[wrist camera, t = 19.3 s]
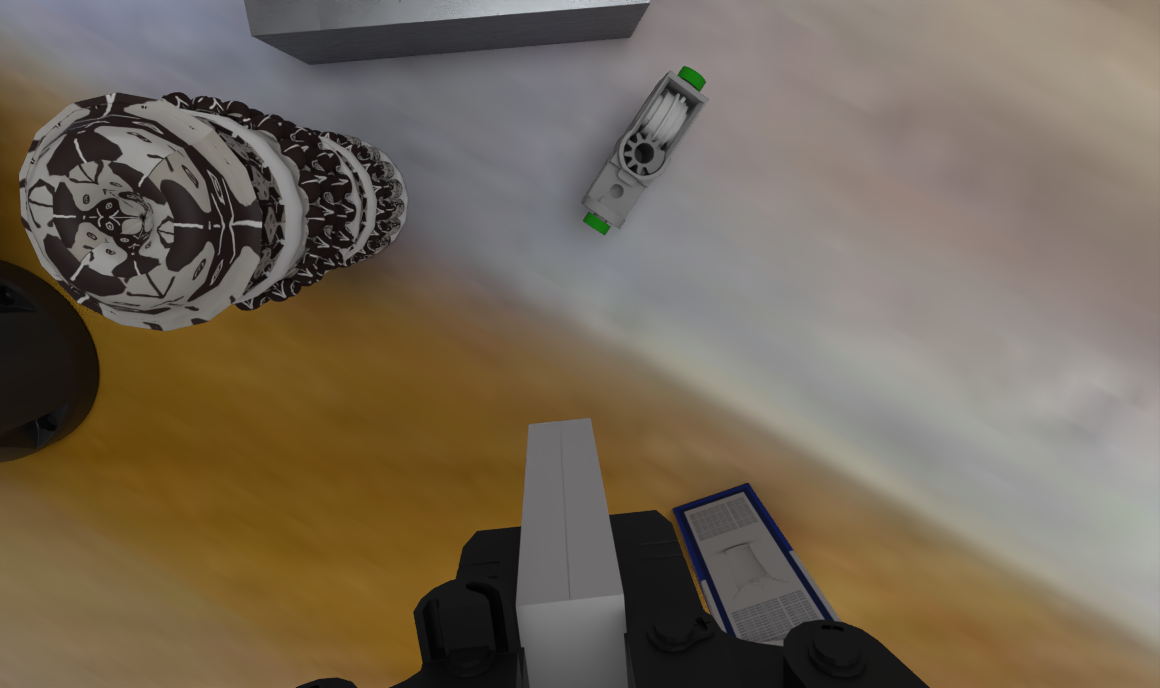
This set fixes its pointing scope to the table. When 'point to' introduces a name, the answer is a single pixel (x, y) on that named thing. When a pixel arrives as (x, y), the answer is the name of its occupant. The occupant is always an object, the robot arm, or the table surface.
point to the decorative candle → (198, 206)
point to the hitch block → (432, 25)
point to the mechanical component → (645, 148)
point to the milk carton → (748, 568)
